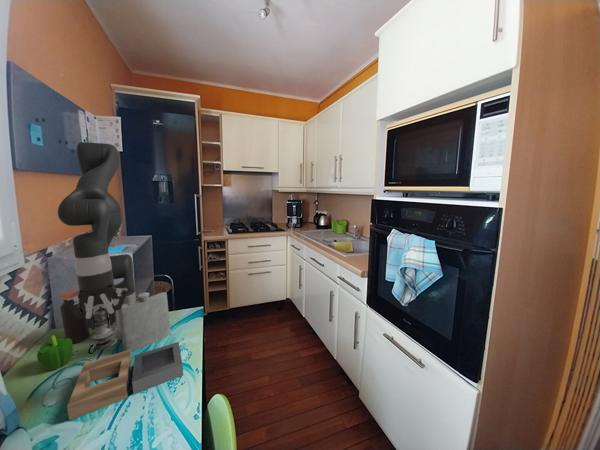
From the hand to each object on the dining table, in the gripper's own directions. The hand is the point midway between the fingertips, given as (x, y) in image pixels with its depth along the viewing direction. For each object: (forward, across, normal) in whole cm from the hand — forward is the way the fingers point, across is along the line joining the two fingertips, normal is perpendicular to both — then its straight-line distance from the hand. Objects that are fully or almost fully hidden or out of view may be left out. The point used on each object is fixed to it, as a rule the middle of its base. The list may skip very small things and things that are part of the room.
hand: (103, 325), depth 68 cm
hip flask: (+19, -9, -17) cm, 28 cm away
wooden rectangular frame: (+19, +2, 0) cm, 19 cm away
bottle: (+19, +15, -35) cm, 43 cm away
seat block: (+19, -12, +2) cm, 23 cm away
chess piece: (+6, 0, 0) cm, 6 cm away
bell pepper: (+19, +17, -20) cm, 32 cm away
